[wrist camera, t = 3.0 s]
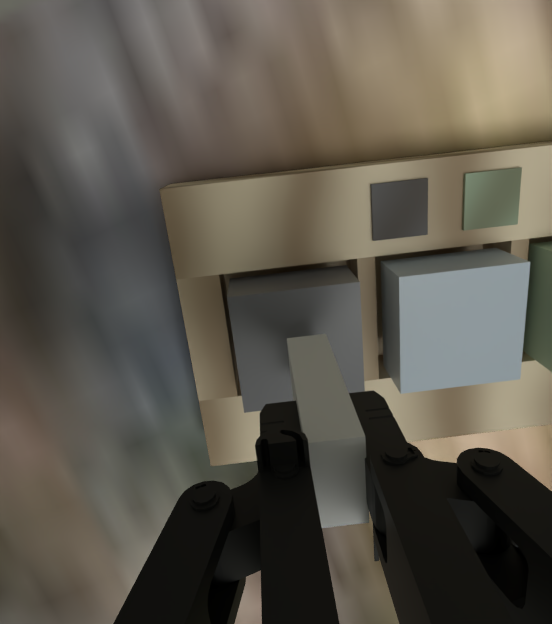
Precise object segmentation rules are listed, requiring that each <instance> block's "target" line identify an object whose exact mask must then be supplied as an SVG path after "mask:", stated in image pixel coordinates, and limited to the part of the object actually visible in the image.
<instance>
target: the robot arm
mask: <svg viewBox="0 0 552 624" xmlns="http://www.w3.org/2000/svg"><path fill="white" fill-rule="evenodd" d="M287 346H288V356H289V365H290V375H291V384H292V394H293V401H287V402H279V403H270V404H265V406H264V407H263V409H262V410H261V412H260V437H259V438H258V439H257V440H256V444H255V450H256V457H257V464H258V473H257V475H256V476H255V477H254V478H253V479H252V480H250V481H249V482H247V483H246V484H244V485H241V486H239V487H237V488H234V489H231V490H230V488H229V487H228V486H227V485H225V484H224V483H222V482H217V481H204V482H201V483H198V484H195V485H193V486H191V487H190V488H188V489H187V490H185V491H184V493H183V494H182V495H181V496H180V498H179V499H178V501H177V503H176V505H175V507H174V509H173V511H172V513H171V515H170V516H169V518H168V520H167V522H166V524H165V526H164V528H163V530H162V532H161V534H160V536H159V538H158V539H157V541H156V543H155V545H154V547H153V549H152V551H151V553H150V555H149V557H148V559H147V560H146V562H145V564H144V566H143V568H142V570H141V572H140V574H139V576H138V578H137V580H136V582H135V583H134V585H133V587H132V589H131V591H130V593H129V595H128V597H127V599H126V601H125V603H124V604H123V606H122V608H121V610H120V612H119V614H118V616H117V618H116V620H115V622H114V624H234V623H235V619H236V615H237V612H238V608H239V605H240V601H241V597H242V594H243V590H244V586H245V582H246V576H249V575H251V574H253V573H255V572H258V571H260V570H261V597H262V624H339V620H338V614H337V609H336V603H335V598H334V592H333V587H332V581H331V576H330V571H329V565H328V560H327V554H326V549H325V543H324V538H323V532H322V528H327V527H335V526H343V525H352V524H360V523H369V511H370V515H371V518H372V521H373V537H374V559H375V561H379V558H380V561H381V564H382V568H383V571H384V574H385V578H386V581H387V584H388V587H389V591H390V594H391V597H392V601H393V604H394V607H395V611H396V614H397V617H398V620H399V624H552V491H550V490H549V489H548V488H547V487H545V486H544V485H543V484H542V483H540V482H539V481H538V480H537V479H535V478H534V477H533V476H532V475H530V474H529V473H528V472H527V471H525V470H524V469H523V468H522V467H520V466H519V465H518V464H517V463H515V462H514V461H513V460H512V459H510V458H509V457H507V456H506V455H504V454H502V453H500V452H498V451H494V450H491V449H485V448H473V449H468V450H466V451H464V452H462V453H461V454H460V455H459V457H458V458H457V463H451V462H441V461H435V460H431V459H428V458H425V457H424V456H423V454H422V453H421V452H420V450H419V449H418V448H417V447H415V446H413V445H411V444H410V443H407V441H406V439H405V437H404V435H403V433H402V431H401V429H400V427H399V425H398V423H397V422H396V420H395V418H394V417H393V414H392V412H391V410H390V409H389V406H388V404H387V402H386V400H385V398H384V397H382V396H381V395H379V394H378V393H377V392H375V391H374V390H372V391H363V392H355V393H348V390H347V388H346V385H345V382H344V380H343V377H342V375H341V372H340V369H339V367H338V364H337V362H336V359H335V356H334V354H333V351H332V349H331V346H330V344H329V341H328V338H327V336H326V334H319V335H311V336H302V337H293V338H287Z"/></svg>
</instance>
